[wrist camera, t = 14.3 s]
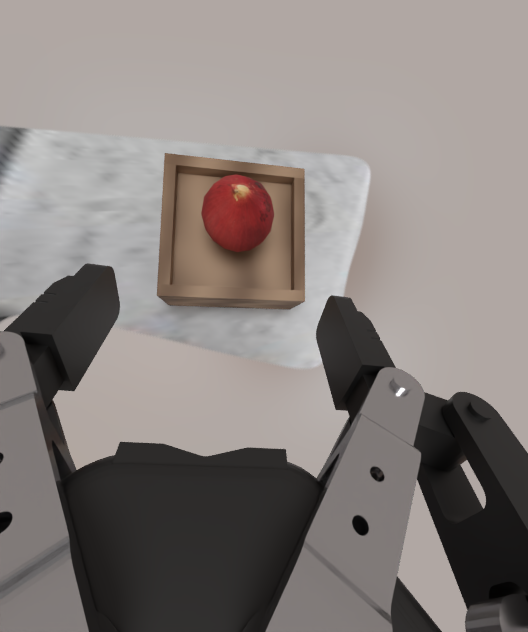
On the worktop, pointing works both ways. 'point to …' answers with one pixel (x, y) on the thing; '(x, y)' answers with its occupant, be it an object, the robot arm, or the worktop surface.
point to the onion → (237, 213)
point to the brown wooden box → (221, 264)
